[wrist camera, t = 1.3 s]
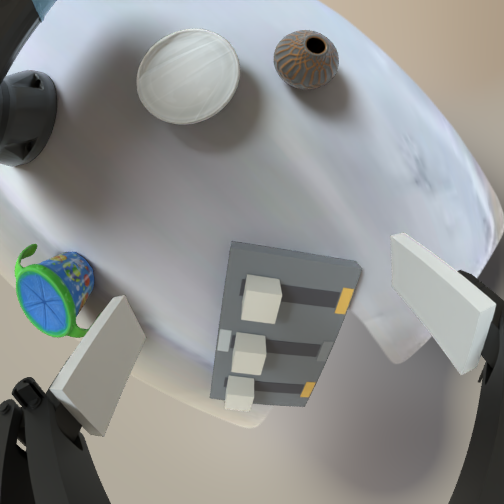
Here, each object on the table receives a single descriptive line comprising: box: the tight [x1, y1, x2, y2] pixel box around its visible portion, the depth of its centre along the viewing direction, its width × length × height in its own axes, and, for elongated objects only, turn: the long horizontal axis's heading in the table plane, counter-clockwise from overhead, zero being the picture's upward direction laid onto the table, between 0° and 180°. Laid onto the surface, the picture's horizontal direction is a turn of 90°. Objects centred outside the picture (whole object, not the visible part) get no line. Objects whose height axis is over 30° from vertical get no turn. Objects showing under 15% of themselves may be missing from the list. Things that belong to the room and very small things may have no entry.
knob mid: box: [231, 332, 266, 375], centre depth 37 cm, size 4×4×4 cm
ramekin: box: [136, 29, 240, 125], centre depth 26 cm, size 11×11×5 cm
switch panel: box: [210, 241, 362, 407], centre depth 40 cm, size 17×28×2 cm, turn 170°
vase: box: [274, 30, 339, 90], centre depth 24 cm, size 7×7×9 cm
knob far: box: [224, 375, 254, 412], centre depth 40 cm, size 4×4×4 cm
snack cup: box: [15, 244, 101, 338], centre depth 33 cm, size 16×10×10 cm
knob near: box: [241, 274, 282, 324], centre depth 34 cm, size 4×4×4 cm
